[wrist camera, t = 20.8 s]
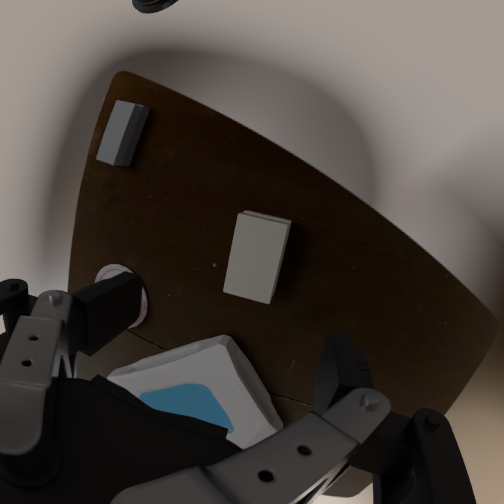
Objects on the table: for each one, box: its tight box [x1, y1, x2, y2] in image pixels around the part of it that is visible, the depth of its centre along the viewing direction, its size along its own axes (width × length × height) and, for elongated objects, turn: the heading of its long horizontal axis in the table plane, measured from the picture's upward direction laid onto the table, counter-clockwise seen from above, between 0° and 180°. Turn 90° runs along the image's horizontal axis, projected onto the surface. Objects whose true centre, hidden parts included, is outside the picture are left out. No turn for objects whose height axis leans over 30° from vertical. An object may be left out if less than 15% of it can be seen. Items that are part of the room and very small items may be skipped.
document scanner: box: [107, 335, 283, 449], centre depth 46 cm, size 21×28×6 cm
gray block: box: [96, 100, 150, 166], centre depth 39 cm, size 10×4×4 cm, turn 158°
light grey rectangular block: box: [223, 212, 289, 304], centre depth 36 cm, size 10×6×3 cm, turn 168°
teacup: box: [95, 264, 148, 328], centre depth 44 cm, size 12×12×6 cm
